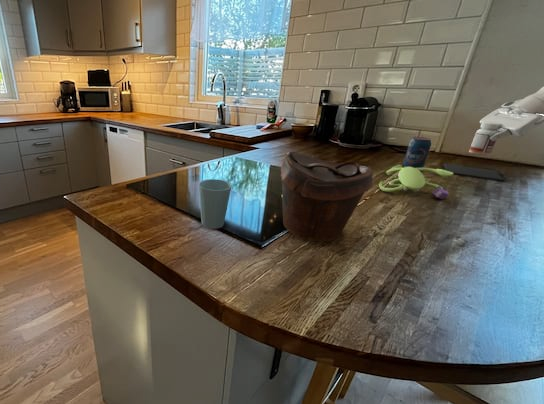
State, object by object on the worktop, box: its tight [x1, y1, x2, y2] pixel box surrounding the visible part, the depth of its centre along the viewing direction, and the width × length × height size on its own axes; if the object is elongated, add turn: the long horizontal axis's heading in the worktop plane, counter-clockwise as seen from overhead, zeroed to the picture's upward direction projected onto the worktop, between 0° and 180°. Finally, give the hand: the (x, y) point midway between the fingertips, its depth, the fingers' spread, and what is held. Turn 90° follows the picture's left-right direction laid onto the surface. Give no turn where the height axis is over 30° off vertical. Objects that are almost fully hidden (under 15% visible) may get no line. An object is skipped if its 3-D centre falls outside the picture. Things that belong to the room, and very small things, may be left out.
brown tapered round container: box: [279, 150, 374, 242], centre depth 68 cm, size 18×20×18 cm
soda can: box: [402, 136, 432, 168], centre depth 120 cm, size 7×7×12 cm
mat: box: [443, 163, 505, 182], centre depth 117 cm, size 16×14×1 cm
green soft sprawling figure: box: [378, 164, 455, 200], centre depth 99 cm, size 18×27×6 cm
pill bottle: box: [468, 122, 501, 156], centre depth 112 cm, size 6×6×11 cm
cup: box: [198, 178, 232, 230], centre depth 72 cm, size 8×8×10 cm
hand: (483, 137), depth 112 cm, fingers closed on pill bottle, 6 cm apart
